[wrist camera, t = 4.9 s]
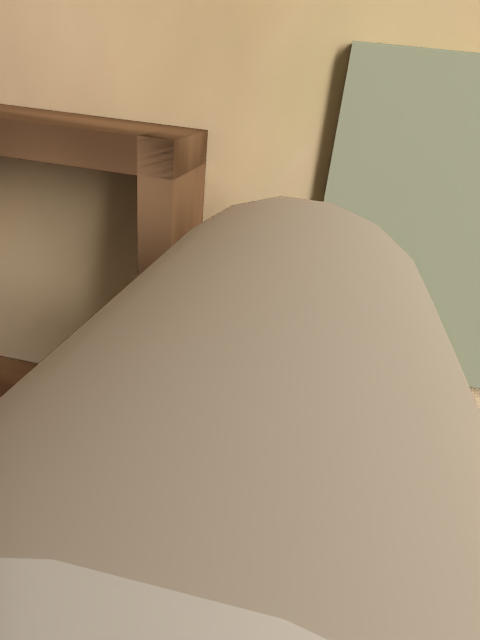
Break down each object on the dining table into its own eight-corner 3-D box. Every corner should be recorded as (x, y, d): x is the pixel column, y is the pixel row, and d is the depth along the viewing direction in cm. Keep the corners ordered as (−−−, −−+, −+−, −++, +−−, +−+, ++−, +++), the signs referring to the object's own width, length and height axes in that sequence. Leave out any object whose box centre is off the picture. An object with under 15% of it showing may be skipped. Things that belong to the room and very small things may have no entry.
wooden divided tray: (182, 552, 29) (160, 616, 26) (-75, 487, 32) (-128, 537, 28) (207, 130, 18) (173, 140, 14) (-202, 78, 20) (-318, 75, 16)
